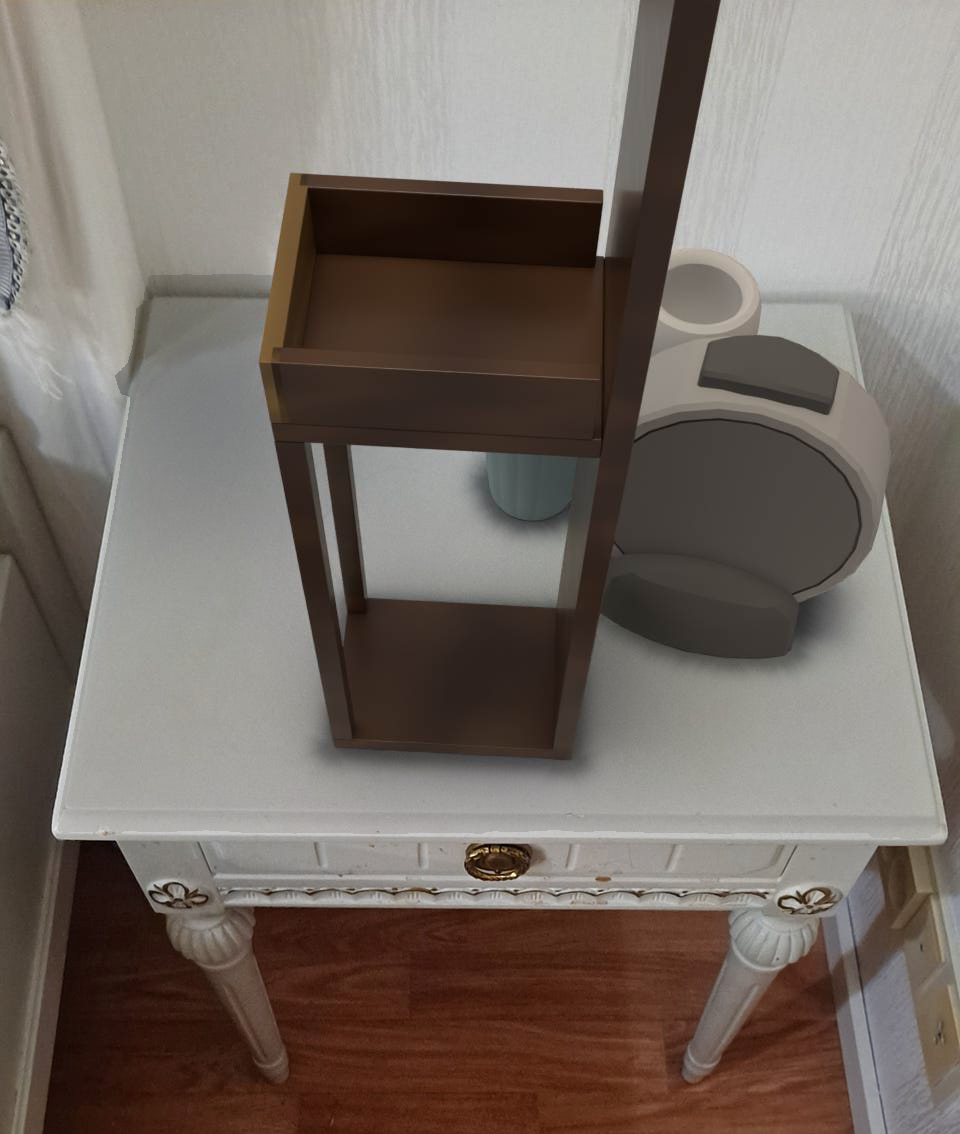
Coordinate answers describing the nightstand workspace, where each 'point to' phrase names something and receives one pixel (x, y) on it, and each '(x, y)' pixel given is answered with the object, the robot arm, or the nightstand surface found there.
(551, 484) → the cup
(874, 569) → the nightstand surface
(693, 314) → the mug
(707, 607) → the alarm clock
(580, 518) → the rack
